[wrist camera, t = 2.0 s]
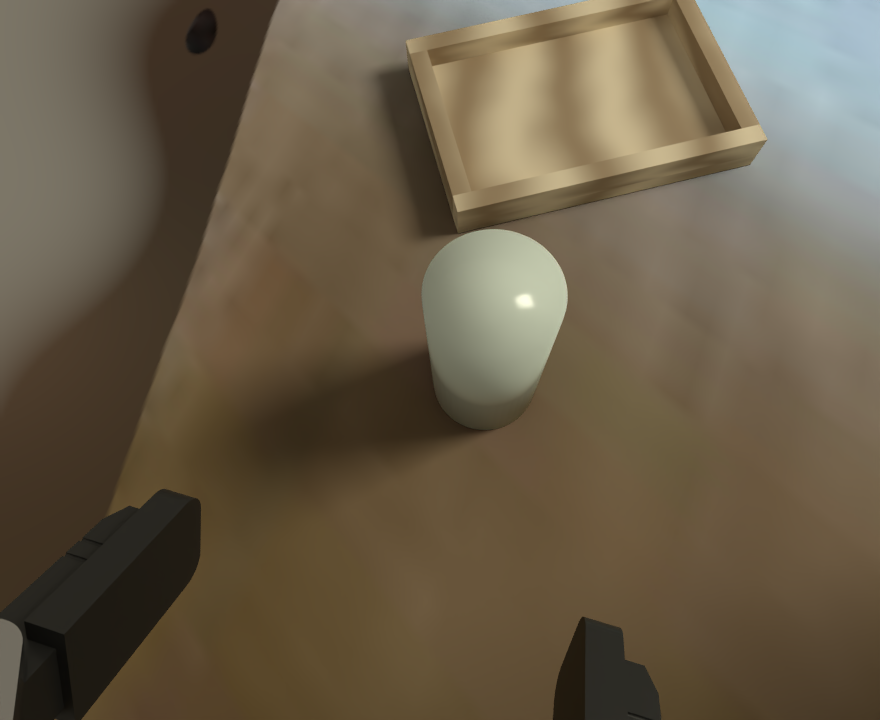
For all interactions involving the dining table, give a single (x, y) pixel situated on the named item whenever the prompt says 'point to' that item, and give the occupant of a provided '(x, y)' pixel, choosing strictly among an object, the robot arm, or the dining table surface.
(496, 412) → the sage domed cylinder
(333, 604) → the dining table surface
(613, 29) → the tray
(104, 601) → the robot arm
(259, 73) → the dining table surface
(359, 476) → the dining table surface
